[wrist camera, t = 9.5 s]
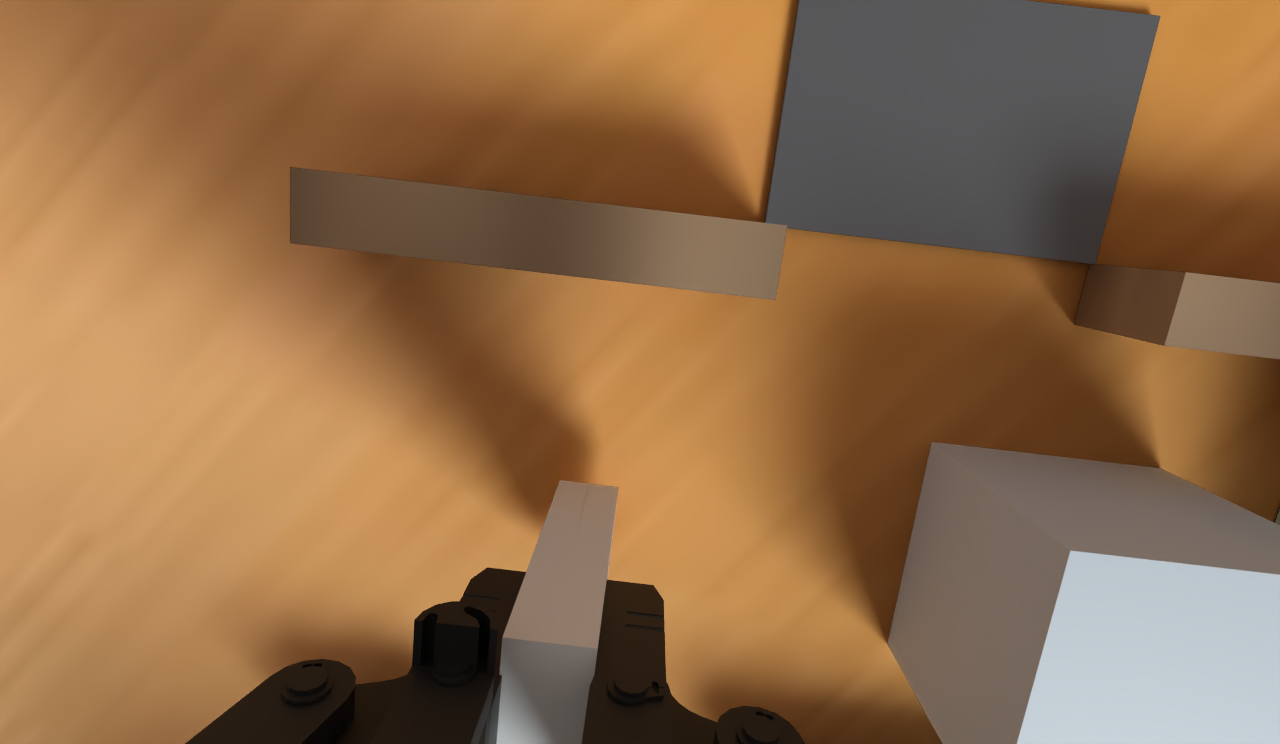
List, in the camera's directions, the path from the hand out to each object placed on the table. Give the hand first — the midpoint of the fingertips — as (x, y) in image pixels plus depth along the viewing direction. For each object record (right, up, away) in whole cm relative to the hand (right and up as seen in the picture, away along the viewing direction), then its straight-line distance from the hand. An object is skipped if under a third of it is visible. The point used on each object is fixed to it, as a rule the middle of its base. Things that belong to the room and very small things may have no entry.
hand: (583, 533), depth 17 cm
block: (+12, -1, +1) cm, 12 cm away
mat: (+9, +10, -1) cm, 13 cm away
